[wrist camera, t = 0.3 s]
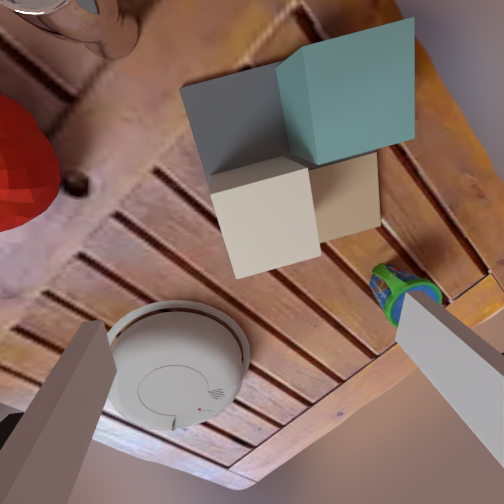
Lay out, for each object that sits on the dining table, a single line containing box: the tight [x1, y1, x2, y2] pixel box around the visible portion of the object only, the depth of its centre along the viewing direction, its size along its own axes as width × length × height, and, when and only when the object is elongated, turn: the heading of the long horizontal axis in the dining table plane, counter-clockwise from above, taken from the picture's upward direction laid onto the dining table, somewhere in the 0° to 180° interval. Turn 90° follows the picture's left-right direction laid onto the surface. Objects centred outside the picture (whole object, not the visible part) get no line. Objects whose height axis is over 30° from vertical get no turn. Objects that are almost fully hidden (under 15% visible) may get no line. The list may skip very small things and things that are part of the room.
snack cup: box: [370, 263, 442, 328], centre depth 43 cm, size 11×8×7 cm
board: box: [179, 60, 381, 243], centre depth 36 cm, size 22×21×1 cm
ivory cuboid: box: [210, 156, 321, 279], centre depth 32 cm, size 9×9×10 cm
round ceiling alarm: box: [107, 300, 250, 431], centre depth 45 cm, size 25×25×6 cm
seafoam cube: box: [276, 17, 415, 165], centre depth 29 cm, size 9×9×10 cm
